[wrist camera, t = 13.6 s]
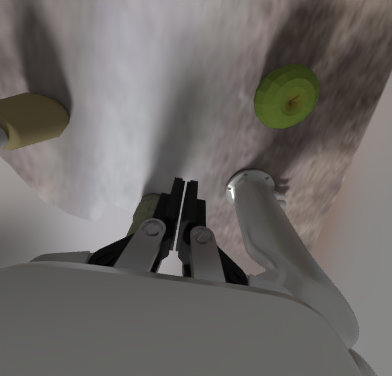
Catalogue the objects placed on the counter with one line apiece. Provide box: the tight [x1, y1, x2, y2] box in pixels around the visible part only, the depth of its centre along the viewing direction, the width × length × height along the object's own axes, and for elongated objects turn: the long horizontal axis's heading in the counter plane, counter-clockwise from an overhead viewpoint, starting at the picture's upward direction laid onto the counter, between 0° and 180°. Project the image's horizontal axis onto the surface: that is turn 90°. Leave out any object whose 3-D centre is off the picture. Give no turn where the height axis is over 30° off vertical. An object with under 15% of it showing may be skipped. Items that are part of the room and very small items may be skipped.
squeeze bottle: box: [0, 93, 69, 150], centre depth 26 cm, size 8×8×18 cm
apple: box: [254, 64, 320, 129], centre depth 26 cm, size 9×8×12 cm
